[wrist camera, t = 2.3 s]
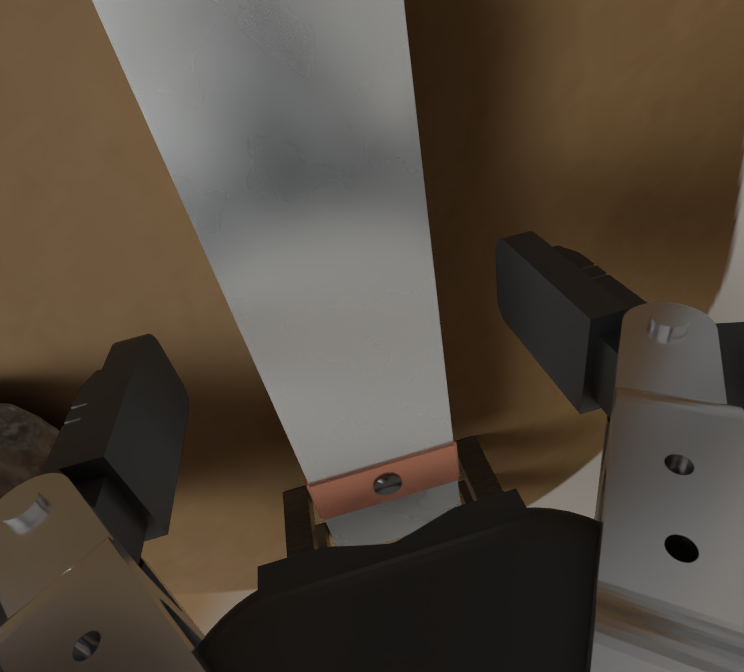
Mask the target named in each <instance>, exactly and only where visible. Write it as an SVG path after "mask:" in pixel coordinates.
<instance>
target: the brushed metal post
mask: <svg viewBox="0 0 744 672" xmlns="http://www.w3.org/2000/svg"><path fill="white" fill-rule="evenodd" d="M92 1H93V3H94V5H95V8H96V10H97V12H98V14H99V17H100V19H101V21H102V23H103V26H104V28H105V30H106V32H107V34H108V37H109V39H110V41H111V43H112V46H113V48H114V50H115V52H116V55H117V57H118V59H119V61H120V63H121V66H122V68H123V70H124V72H125V75H126V77H127V79H128V81H129V84H130V86H131V88H132V90H133V93H134V95H135V97H136V99H137V101H138V104H139V106H140V108H141V110H142V113H143V115H144V117H145V119H146V122H147V124H148V126H149V128H150V131H151V133H152V135H153V137H154V139H155V142H156V144H157V146H158V148H159V151H160V153H161V155H162V157H163V160H164V162H165V164H166V166H167V168H168V171H169V173H170V175H171V177H172V180H173V182H174V184H175V186H176V189H177V191H178V193H179V195H180V198H181V200H182V202H183V204H184V206H185V209H186V211H187V213H188V215H189V218H190V220H191V222H192V224H193V227H194V229H195V231H196V233H197V236H198V238H199V240H200V242H201V244H202V247H203V249H204V251H205V253H206V256H207V258H208V260H209V262H210V265H211V267H212V269H213V271H214V273H215V276H216V278H217V280H218V282H219V285H220V287H221V289H222V291H223V294H224V296H225V298H226V300H227V303H228V305H229V307H230V309H231V311H232V314H233V316H234V318H235V320H236V323H237V325H238V327H239V329H240V332H241V334H242V336H243V338H244V341H245V343H246V345H247V347H248V349H249V352H250V354H251V356H252V358H253V361H254V363H255V365H256V367H257V370H258V372H259V374H260V376H261V378H262V381H263V383H264V385H265V387H266V390H267V392H268V394H269V396H270V399H271V401H272V403H273V405H274V408H275V410H276V412H277V414H278V416H279V419H280V421H281V423H282V425H283V428H284V430H285V432H286V434H287V437H288V439H289V441H290V443H291V446H292V448H293V450H294V452H295V454H296V457H297V459H298V461H299V463H300V466H301V468H302V470H303V472H304V475H305V479H306V486H307V489H308V491H309V493H310V495H311V497H312V500H313V502H314V504H315V506H316V508H317V511H318V513H319V515H320V517H321V518H323V519H324V520H325V521H326V524H327V526H328V528H329V530H330V533H331V535H332V537H333V539H334V542H335V544H336V546H356V545H376V544H380V543H383V542H386V541H390V540H393V539H396V538H400V537H403V536H406V535H409V534H410V533H412V532H414V531H415V530H417V529H419V528H420V527H422V526H424V525H425V524H427V523H429V522H430V521H432V520H434V519H435V518H437V517H439V516H440V515H442V514H444V513H445V512H447V511H449V510H450V509H452V508H454V507H457V506H460V496H459V488H458V478H459V477H460V472H459V463H458V453H457V444H456V440H455V438H454V436H453V434H452V425H451V416H450V408H449V399H448V390H447V381H446V372H445V363H444V354H443V345H442V336H441V328H440V319H439V310H438V301H437V292H436V283H435V274H434V265H433V256H432V248H431V239H430V230H429V221H428V212H427V203H426V194H425V185H424V177H423V168H422V159H421V150H420V141H419V132H418V123H417V114H416V105H415V97H414V88H413V79H412V70H411V61H410V52H409V43H408V34H407V25H406V17H405V8H404V0H92Z"/></svg>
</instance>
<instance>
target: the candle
mask: <svg viewBox="0 0 744 672" xmlns="http://www.w3.org/2000/svg"><path fill="white" fill-rule="evenodd" d="M59 432H60V431H59V430H58V429H57V428H55V427H54V426H52V425H50V424H49V423H47V422H46V421H45V420H43V419H42V418H40V417H39V416H37V415H35V414H32V413H30V412H28V411H26V410H24V409H22V408H19V407H17V406H15V405H13V404H8V403H0V499H1V498H2V497H3V496H4V495H6V494H7V493H8V492H10V491H11V490H12V489H14V488H15V487H17V486H18V485H20V484H22V483H24V482H25V481H27V480H29V479H32V478H34V477H37V476H39V474H40V472H41V470H42V468H43V466H44V464H45V462H46V459H47V457H48V455H49V453H50V451H51V449H52V447H53V445H54V442H55V440H56V438H57V436H58V434H59Z"/></svg>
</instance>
